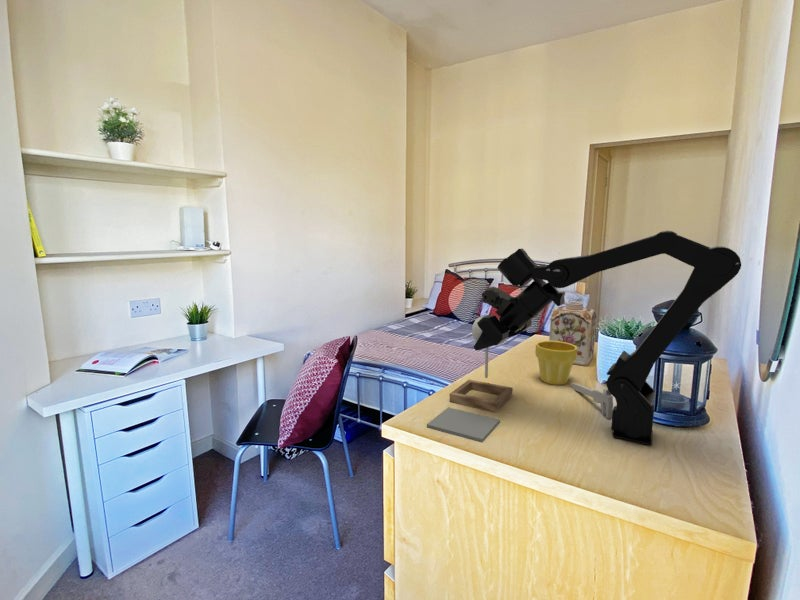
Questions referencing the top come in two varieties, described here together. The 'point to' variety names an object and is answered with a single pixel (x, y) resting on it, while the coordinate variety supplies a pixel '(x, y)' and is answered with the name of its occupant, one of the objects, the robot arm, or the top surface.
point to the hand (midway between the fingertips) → (481, 345)
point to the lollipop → (476, 334)
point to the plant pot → (555, 360)
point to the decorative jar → (575, 329)
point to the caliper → (598, 398)
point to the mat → (464, 424)
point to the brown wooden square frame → (494, 406)
